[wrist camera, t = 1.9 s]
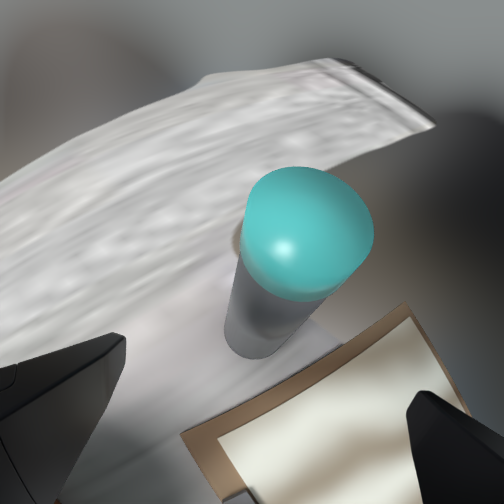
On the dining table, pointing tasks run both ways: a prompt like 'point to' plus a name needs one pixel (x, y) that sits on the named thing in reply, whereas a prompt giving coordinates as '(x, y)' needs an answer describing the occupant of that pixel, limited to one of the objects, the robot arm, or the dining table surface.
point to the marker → (293, 255)
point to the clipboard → (330, 425)
